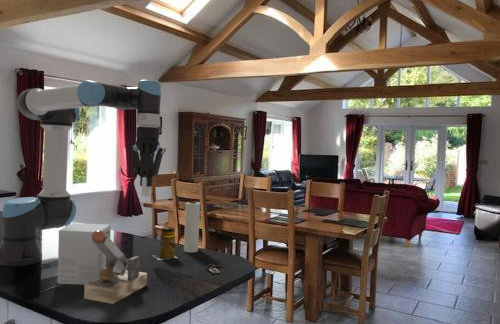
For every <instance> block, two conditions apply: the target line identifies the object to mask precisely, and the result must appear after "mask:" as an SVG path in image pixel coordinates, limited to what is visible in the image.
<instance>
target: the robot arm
mask: <svg viewBox="0 0 500 324" xmlns="http://www.w3.org/2000/svg"><path fill="white" fill-rule="evenodd" d="M161 88H162V87H161V82H159V81H157V80H151V79H141V80H139V81H138V84H137V86H135V87H132V86H131V87H127V86H122V85H117V84H116V85H115V84H110V83H105V82H101V81H97V80H88V79H87V80H83V81H82V82H80V83H79V84H78V85H77V84H75V85H68V86H62V87H56V88H48V89H42V88H39V87H36V88H27V89H26V90H23V91H22V92H21V93H20V94H19V95H18V98H17V103H16V104H17V108H18V110H19V112H20V113H21V115H23V116H24V117H26V118H28V119H29V120H34V121H40V127H42V128H43V129H44V138H43V139H44V140H43V142H44V144H43V148H44V149H43V167H42V168H43V170H42V171H43V172H42V191H40V192H39V193H38V196H37V197H35V196H27V197H17V198H13V199H10V200H7V201H6V202H4V204H3V207H2V213H1V217H2V224H1V225H2V227H1V228H2V229H1V231H2V233H1V236H2V237H1V243H0V266H1V267H10V268H11V267H12V268H13V267H25V266H30V265H31V266H32V265H34V264H37V263H38V264H39V263H40V262H42V260H43V253H42V250H41V247H40V244H39V241H38V232H39V231H44V230H50V229H59V228H62V227H67V226H69V225H71V224H72V222H73V221H74V219H75V217H76V214H77V205H76V203H75V200H73V198H71V194H70V193H69V192H68V191H67V179H68V178H67V175H68V148H69V131H70V130H71V129H72V128H73V126H74V125H73V124H74V123H76V122H77V121H78V118H79V117H80V111H81V110H80V109H81V108H86V107H87V108H88V107H89V108H90V107H108V108H114V109H117V110H125V111H126V110H137V112H136V113H137V116H136V125H137V127H136V141H135V144H134V145H132V146H129V148H128V149H129V151H130V153H131V158H132V164H133V168H134V174H135V175H137V176H139V186H140V187H141V197H145V198H146V197H150V196H151V194H150V193H151V187H152V186H153V178H154V177H155V176H158V175H159V171H160V167H161V164H162V159H163V156H164V154H165V152H166V150H167V149H166V147H162V146H161V145H160V144H161V143H160V140H159V139H160V128H159V127H160V125H161V124H160V123H161V121H160V120H161V100H162V99H161V97H162V92H161V91H162V89H161Z"/></svg>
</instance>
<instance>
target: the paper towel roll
mask: <svg viewBox="0 0 500 324" xmlns="http://www.w3.org/2000/svg"><path fill="white" fill-rule="evenodd" d="M200 209H201V202H197V201H188V202H185V215H184V237H183V238H184V239H183V240H184V241H183V252H185V253H189V254H190V253H197V252H198V251H199V242H200V241H199V234H200V215H201V214H200V211H201V210H200Z"/></svg>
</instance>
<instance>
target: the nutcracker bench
mask: <svg viewBox="0 0 500 324" xmlns="http://www.w3.org/2000/svg"><path fill="white" fill-rule="evenodd" d="M127 259H128V267H127V269H126V271H125V274H124V276H120V275H115V274H114V272H113V268H114V266H115V265H113V263H112V262H111V261H110V260H109V259H108V258H107V257H106V267H105V268H103V269H102V270H101V271H100V279H97V280H95V281H93V282H91V283H88V284H86V285H83V286H84V293H83V298H84V300H91V301H95V302H100V303H106V304H111V305H113V304H115V303H117V302H119V301H121V300H123V299H124V298H126V297H128V296H130V295H132V294H133V293H136V292H137V291H139V290H140V289H142V288H144V287H146V286H147V285H148V273H147V272H142V271H140V256H138V255H135V256H132V257H130V258H127Z"/></svg>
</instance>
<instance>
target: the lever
mask: <svg viewBox="0 0 500 324" xmlns="http://www.w3.org/2000/svg"><path fill="white" fill-rule="evenodd" d="M91 238H92V240H93V243H94V244H95V245H96V246H97V247H98V248H99V249H100V250H101V251H102V253H103V254H104V255H105V256H106V257H107V258H108V259H109V260H110V261H111V262H112V263H113V265H115V266H114V268H113V272H114V274H115V275H120V276H124V274H125V271H126V270H128V259H129V258H127V257H126V255H125V254H124V253H123V252H122V250H120V248H119V247H118V246H117V245H116V244H115V242H113V241H112V239H111V237H110V238H109V237H108V236H105V235H104V233H103V232H102V231H100V230H97V231H95V232H93V234H92V236H91Z"/></svg>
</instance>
